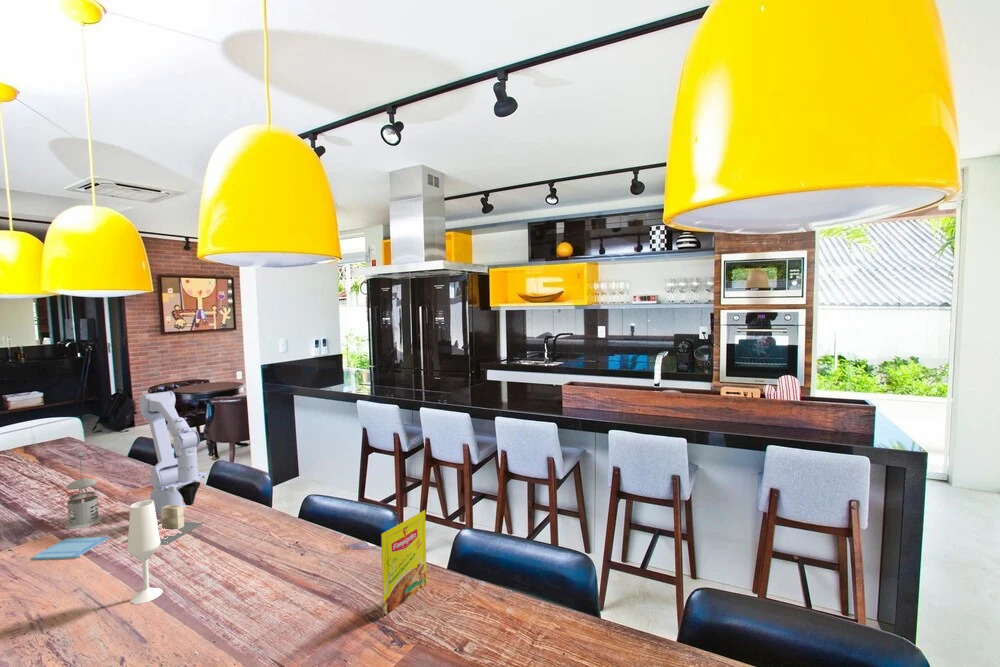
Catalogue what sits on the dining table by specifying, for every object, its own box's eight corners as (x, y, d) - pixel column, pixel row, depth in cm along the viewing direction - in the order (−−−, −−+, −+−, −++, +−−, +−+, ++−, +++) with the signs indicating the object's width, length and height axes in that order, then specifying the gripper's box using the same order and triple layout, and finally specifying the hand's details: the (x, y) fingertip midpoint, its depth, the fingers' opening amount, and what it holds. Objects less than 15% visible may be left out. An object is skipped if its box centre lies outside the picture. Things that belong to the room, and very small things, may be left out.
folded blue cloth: (30, 561, 137) (30, 557, 137) (67, 541, 149) (66, 537, 149) (77, 560, 138) (77, 555, 138) (110, 540, 150) (109, 536, 150)
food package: (385, 617, 109) (382, 534, 108) (381, 616, 109) (379, 533, 109) (428, 584, 122) (426, 510, 121) (425, 583, 122) (423, 509, 122)
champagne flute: (123, 600, 117) (118, 507, 116) (151, 585, 123) (147, 497, 122) (141, 606, 114) (136, 510, 113) (169, 590, 121) (164, 500, 120)
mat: (121, 543, 146) (121, 542, 146) (162, 522, 161) (162, 520, 161) (166, 546, 144) (166, 544, 144) (203, 524, 159) (203, 523, 159)
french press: (64, 532, 155) (59, 458, 154) (65, 520, 164) (61, 450, 163) (102, 523, 162) (98, 452, 160) (102, 512, 170) (98, 445, 169)
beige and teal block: (162, 528, 155) (161, 508, 155) (168, 525, 158) (168, 504, 158) (178, 529, 155) (177, 508, 154) (184, 525, 157) (183, 505, 157)
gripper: (180, 473, 155) (182, 513, 155) (213, 460, 169) (214, 496, 170) (162, 473, 156) (164, 512, 156) (195, 459, 170) (197, 496, 171)
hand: (189, 504), depth 163 cm, fingers closed
